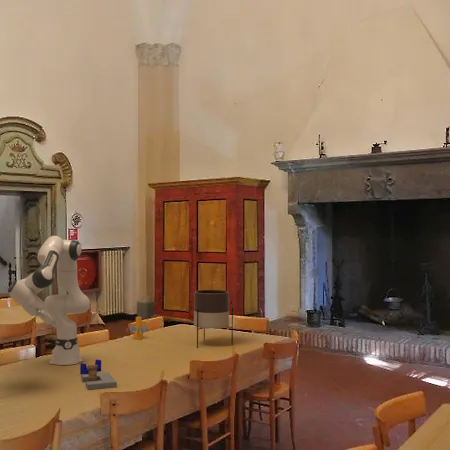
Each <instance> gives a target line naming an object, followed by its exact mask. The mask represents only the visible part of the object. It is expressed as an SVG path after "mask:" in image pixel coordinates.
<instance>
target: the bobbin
mask: <svg viewBox="0 0 450 450" xmlns="http://www.w3.org/2000/svg"><path fill="white" fill-rule="evenodd" d="M86 366H87V368H88V369H89V374H88V381H87V382H90V381H97V373H98V372H97V368H98V365H95V364H88V365H86Z"/></svg>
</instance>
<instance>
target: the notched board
mask: <svg viewBox="0 0 450 450" xmlns="http://www.w3.org/2000/svg"><path fill="white" fill-rule="evenodd" d="M80 379H81V381H82V383H85V388H86V389H87V390H88V391H89V390H100V389H110V388H111V389H113V388H118V386H117V385H118V383H117V380H116V379H115V378H114V377H113V376H112V374H110V373H109V372H108V371H107V372H99V373H98V372H97V381H90V382H87V381H88V374H84V375H80Z"/></svg>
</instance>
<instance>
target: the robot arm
mask: <svg viewBox="0 0 450 450" xmlns="http://www.w3.org/2000/svg"><path fill="white" fill-rule="evenodd" d="M81 254H82V244H81V243H80V241H78V240H70V239H63V238H62V237H60V236H58V235H51V236H49V237H48V238H47V239H46V240H45V241H44V242H43V243H42V245H41V247H40V248H39V250H38V253H37V261H38V262H39V263H40V265H41V266H40V267H38V268H36V270H34V272H32V273H30V274H29V275H28V276H26V277H25V278H22V279H15V280H14V281H13V282H12V283H11V284H10V285H9V286H8V289H7V293H8V295H9V296H10V298H11V299H12V300H13V301H14V302H15V303H16V304H18V305H19V306H21V307H22V308H23V310H24V311H25V312H26V313H27V314H28V315H29V316H31V317H33V316H34V317H39V318H40V319H41V320H42V321H43V322H44V323H45V324H46V325H47V326H52V327H53V328H54V329H55V330H56V338H55V347H54V348H53V349H52V350H51V357H50V360H49V363H48V364H49V365H58V366H68V365H75V364H79V363H81V362H82V363H83V362H84V359H83V358H82V357H81V347H80V346H79V345H78V341H79V340H78V337H77V335H78V333H77V332H78V330H77V328H78V326H77V323H76V322H75V321H74V320H72V319H70V318H68V316H67V315H69V314H70V315H71V314H74V315H75V314H76V315H78V314H83V313H84V314H85V313H88V311H89V309H90V307H91V300H90V299H89V297H88V296H87V295H86V294H85V293H84V292H82V290H81V288H80V286H79V281H78V261H77V259H79V258H80V256H82V255H81ZM56 267H57V268H56ZM55 269H57V273H56V274H57V278H56V279H57V280H56V281H57V285H58V286H59V287H60V288H62V289H63V290H66V292H67V294H52V295H48V296H47V297H46V298H45V299H44V301H43V300H42V299H41V298H40V297H39V296H38V295H37V294H39V293H40V292H41V291H43V290H44V289H46V288H48V287H50V286H51V285H52V284H53V283H54V273H55Z"/></svg>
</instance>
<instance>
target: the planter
mask: <svg viewBox="0 0 450 450" xmlns="http://www.w3.org/2000/svg"><path fill="white" fill-rule="evenodd" d="M193 302H194V305H193V325H194V327H196V349H199V330H202V329H203V341H205V339H206V333H205V332H206V331H205V330H206V329H215V330H216V329H223V328H231V346H234V344H233V340H234V339H233V338H234V337H233V335H234V332H233V330H234V329H233V327H234V326H233V325H234V308H233V307H231V326H229V325H230V291H228V290H222V289H198V290H195V291H194V296H193Z"/></svg>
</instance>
